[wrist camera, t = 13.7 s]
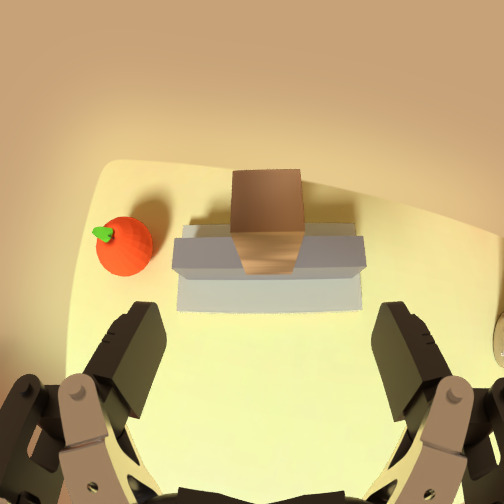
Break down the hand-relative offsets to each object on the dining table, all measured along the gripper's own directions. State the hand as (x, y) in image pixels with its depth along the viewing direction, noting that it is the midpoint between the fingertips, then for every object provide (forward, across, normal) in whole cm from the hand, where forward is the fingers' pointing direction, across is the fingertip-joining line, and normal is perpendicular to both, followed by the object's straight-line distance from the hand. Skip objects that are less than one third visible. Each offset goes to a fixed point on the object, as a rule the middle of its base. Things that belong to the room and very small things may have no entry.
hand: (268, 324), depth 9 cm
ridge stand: (+20, 0, +10) cm, 22 cm away
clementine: (+21, +17, +8) cm, 28 cm away
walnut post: (+15, 0, +5) cm, 16 cm away
